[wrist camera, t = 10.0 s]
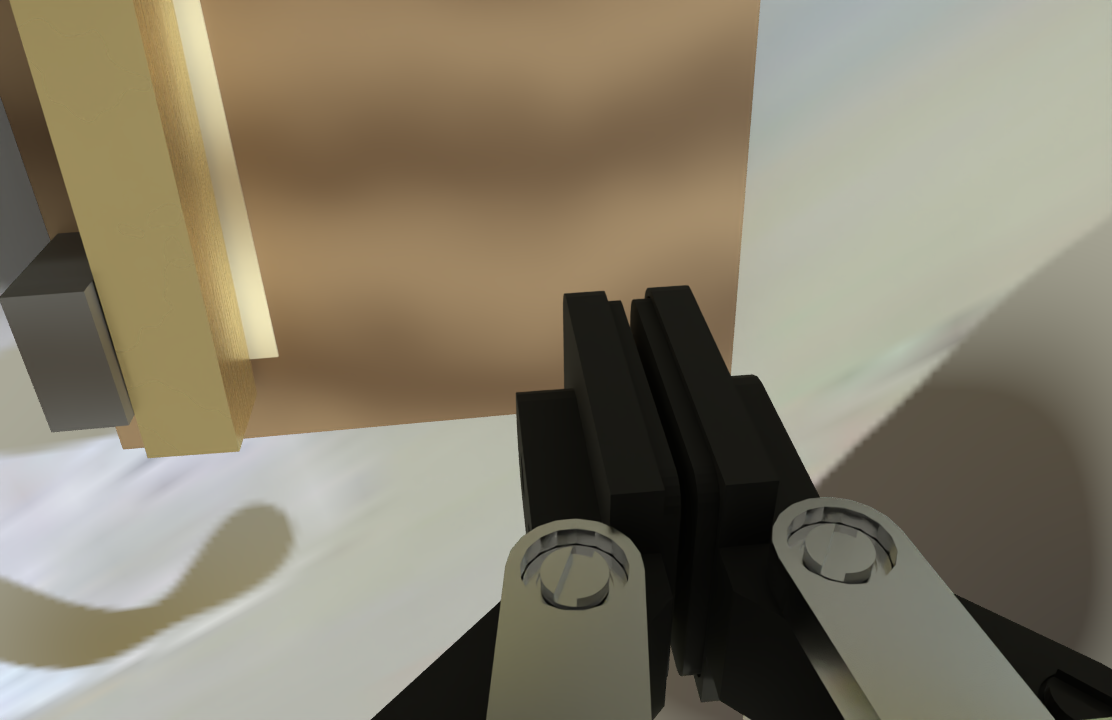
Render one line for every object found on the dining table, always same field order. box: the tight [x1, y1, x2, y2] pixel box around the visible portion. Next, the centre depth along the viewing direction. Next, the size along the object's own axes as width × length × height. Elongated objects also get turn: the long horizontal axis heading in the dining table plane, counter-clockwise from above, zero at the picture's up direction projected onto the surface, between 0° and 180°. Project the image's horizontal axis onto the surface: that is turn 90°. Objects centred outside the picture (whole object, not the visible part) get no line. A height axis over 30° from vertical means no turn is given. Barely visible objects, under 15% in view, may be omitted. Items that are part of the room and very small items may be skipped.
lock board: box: [0, 0, 760, 449], centre depth 24 cm, size 19×20×6 cm
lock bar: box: [9, 0, 257, 458], centre depth 22 cm, size 16×3×4 cm, turn 1°
